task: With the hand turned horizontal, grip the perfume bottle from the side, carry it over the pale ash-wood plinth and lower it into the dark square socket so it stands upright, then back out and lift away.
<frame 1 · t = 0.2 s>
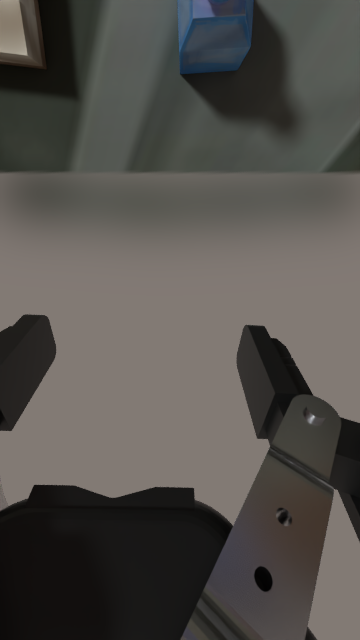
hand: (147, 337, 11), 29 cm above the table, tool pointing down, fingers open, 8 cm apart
perfume bottle: (208, 32, 26), on the table
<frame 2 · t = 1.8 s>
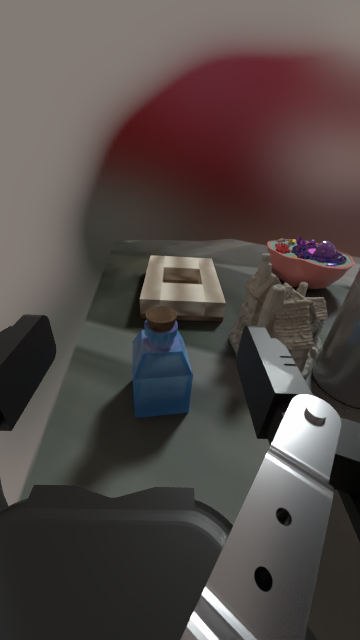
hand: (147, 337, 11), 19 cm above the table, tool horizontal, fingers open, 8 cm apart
ceramic cottage: (277, 349, 41), on the table
cell model: (296, 283, 63), on the table
perfume bottle: (159, 395, 32), on the table
socket plinth: (180, 292, 55), on the table
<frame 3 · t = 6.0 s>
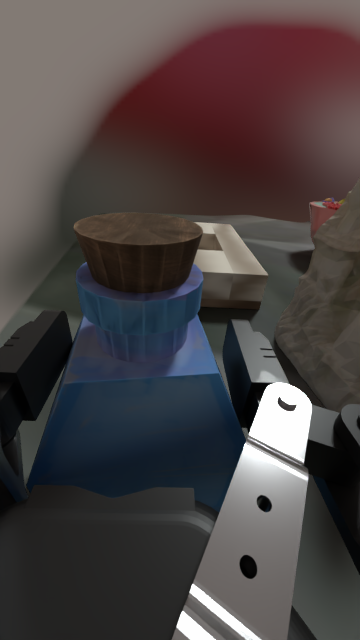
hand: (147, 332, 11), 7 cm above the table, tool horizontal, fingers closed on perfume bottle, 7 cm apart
cell model: (350, 261, 44), on the table
perfume bottle: (146, 471, 13), on the table, touching gripper
socket plinth: (187, 267, 36), on the table
when the fingers open (9 cm above the table, at t = 12.1 s): perfume bottle drops 1 cm, resting on socket plinth.
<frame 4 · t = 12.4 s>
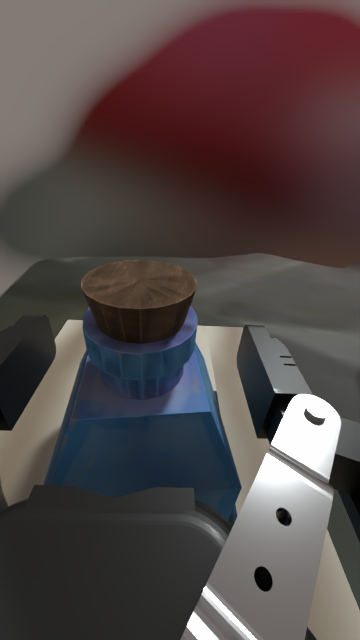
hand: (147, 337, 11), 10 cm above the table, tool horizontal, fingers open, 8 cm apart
perfume bottle: (146, 486, 14), point 1 cm above the table, touching socket plinth
socket plinth: (145, 492, 14), on the table
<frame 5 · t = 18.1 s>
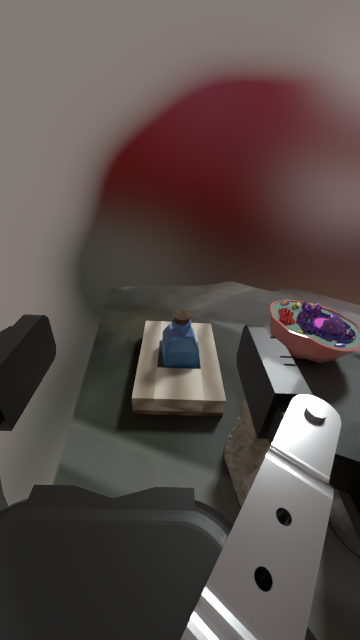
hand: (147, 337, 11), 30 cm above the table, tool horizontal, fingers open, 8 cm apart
ceramic cottage: (279, 468, 36), on the table
cell model: (301, 350, 59), on the table
perfume bottle: (178, 365, 51), point 1 cm above the table, touching socket plinth
socket plinth: (177, 368, 51), on the table
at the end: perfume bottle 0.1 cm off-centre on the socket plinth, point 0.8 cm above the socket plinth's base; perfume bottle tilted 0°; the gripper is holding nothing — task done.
